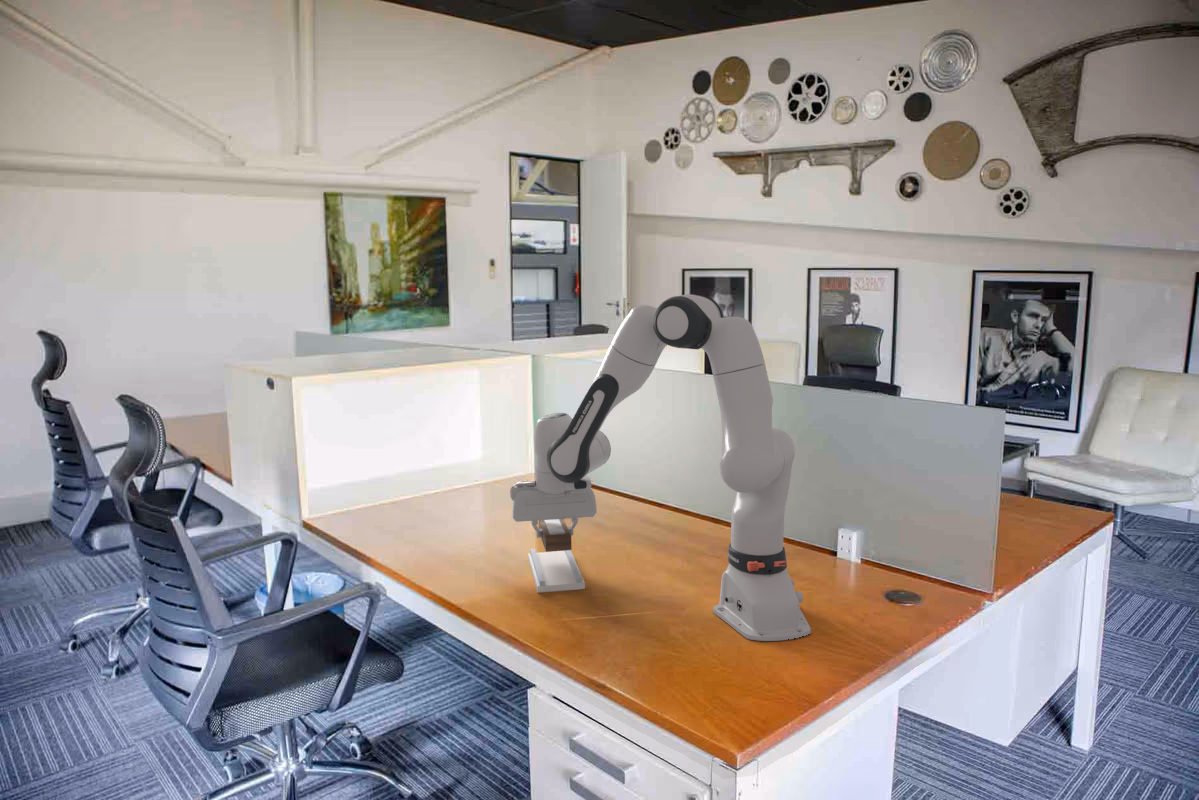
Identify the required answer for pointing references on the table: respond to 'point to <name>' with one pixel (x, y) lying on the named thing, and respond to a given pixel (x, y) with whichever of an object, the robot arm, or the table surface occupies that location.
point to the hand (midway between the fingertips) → (554, 536)
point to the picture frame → (555, 535)
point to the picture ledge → (555, 571)
